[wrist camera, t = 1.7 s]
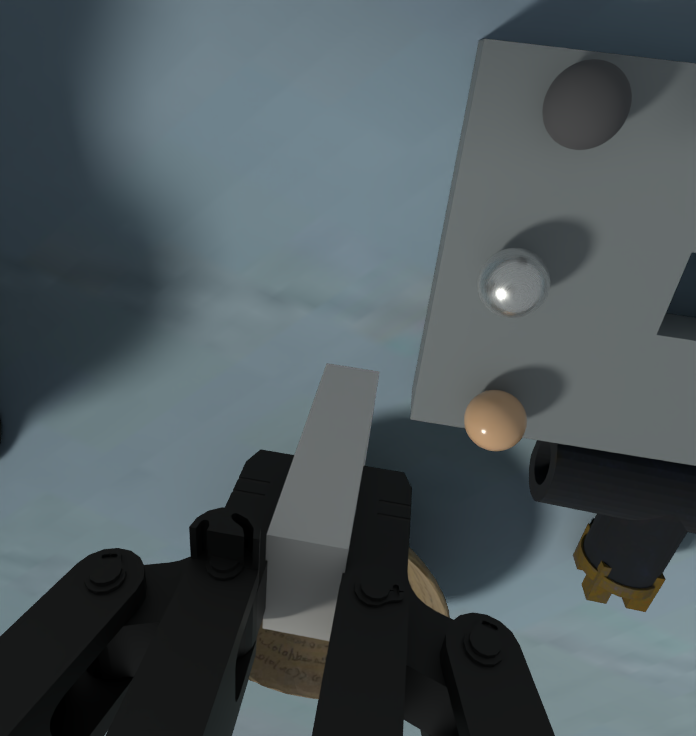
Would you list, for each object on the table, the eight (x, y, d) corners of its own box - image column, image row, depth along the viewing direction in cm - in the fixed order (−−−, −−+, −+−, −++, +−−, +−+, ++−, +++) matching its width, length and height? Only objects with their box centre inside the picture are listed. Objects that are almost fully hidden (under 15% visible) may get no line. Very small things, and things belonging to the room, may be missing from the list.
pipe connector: (731, 637, 37) (507, 590, 38) (698, 574, 42) (498, 533, 42) (828, 508, 32) (564, 456, 32) (777, 452, 36) (547, 407, 37)
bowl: (494, 571, 44) (506, 667, 37) (316, 639, 51) (298, 730, 44) (353, 404, 38) (336, 482, 31) (174, 507, 45) (127, 589, 38)
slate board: (412, 389, 37) (410, 419, 34) (478, 40, 27) (484, 38, 24) (707, 436, 36) (732, 471, 33) (891, 89, 26) (952, 93, 23)
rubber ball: (527, 139, 26) (540, 150, 23) (548, 54, 24) (565, 54, 21) (603, 148, 25) (625, 161, 22) (629, 64, 24) (657, 65, 21)
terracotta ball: (457, 422, 34) (459, 458, 31) (469, 374, 32) (473, 406, 29) (514, 431, 33) (521, 468, 30) (529, 383, 32) (539, 417, 29)
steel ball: (468, 297, 30) (472, 324, 27) (483, 234, 28) (489, 255, 25) (533, 306, 29) (544, 334, 26) (551, 244, 28) (565, 266, 25)
